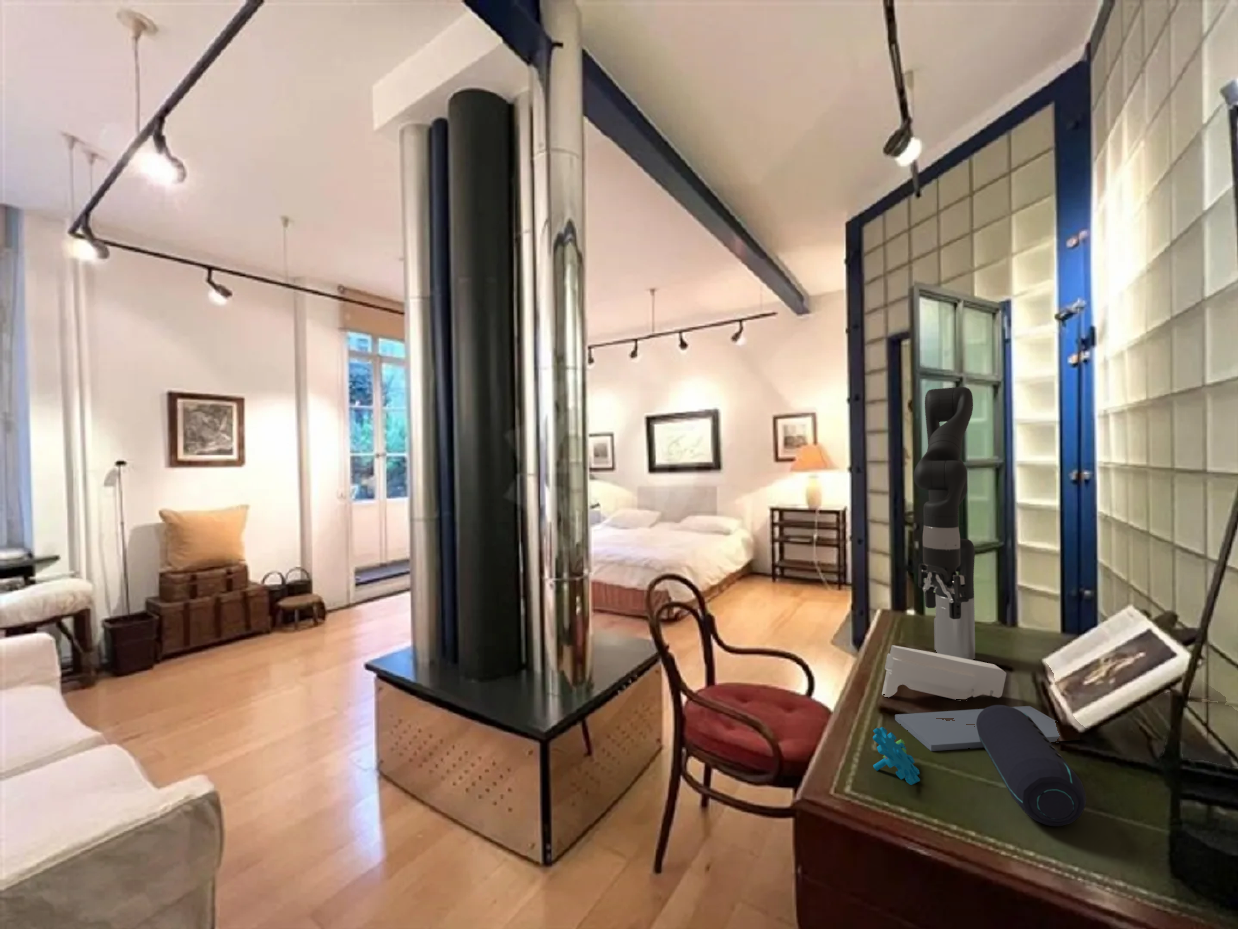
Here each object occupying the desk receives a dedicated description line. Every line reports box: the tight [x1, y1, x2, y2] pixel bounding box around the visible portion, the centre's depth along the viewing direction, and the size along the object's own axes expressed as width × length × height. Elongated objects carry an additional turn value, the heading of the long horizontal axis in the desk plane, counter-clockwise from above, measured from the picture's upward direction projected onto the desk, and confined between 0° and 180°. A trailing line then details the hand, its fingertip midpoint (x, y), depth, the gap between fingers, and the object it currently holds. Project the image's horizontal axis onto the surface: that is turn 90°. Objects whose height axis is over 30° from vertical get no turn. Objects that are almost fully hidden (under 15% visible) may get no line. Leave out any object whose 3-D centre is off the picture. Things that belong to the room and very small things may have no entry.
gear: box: [872, 726, 921, 786], centre depth 97 cm, size 11×6×10 cm
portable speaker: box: [976, 704, 1087, 827], centre depth 91 cm, size 25×10×10 cm, turn 160°
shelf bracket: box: [881, 644, 1007, 700], centre depth 124 cm, size 6×25×13 cm, turn 84°
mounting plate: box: [894, 705, 1060, 752], centre depth 110 cm, size 12×31×1 cm, turn 94°
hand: (942, 612), depth 124 cm, fingers open, 8 cm apart
